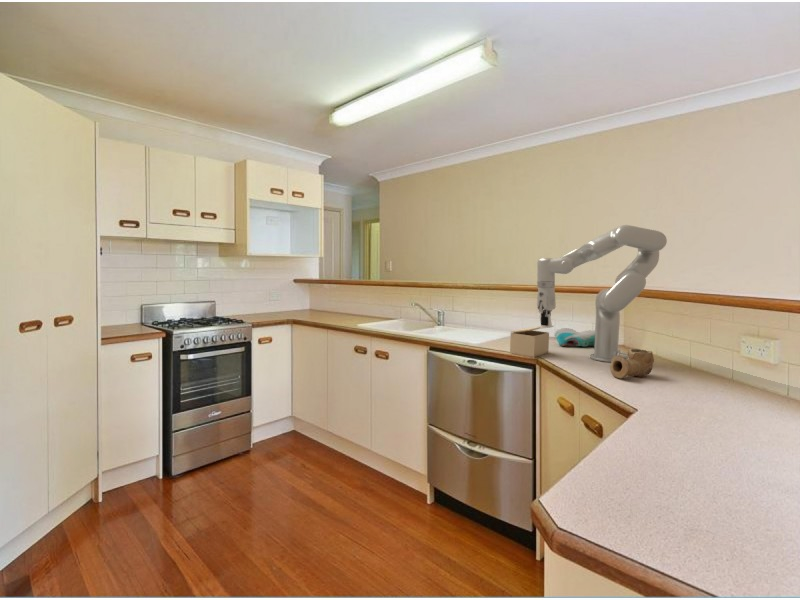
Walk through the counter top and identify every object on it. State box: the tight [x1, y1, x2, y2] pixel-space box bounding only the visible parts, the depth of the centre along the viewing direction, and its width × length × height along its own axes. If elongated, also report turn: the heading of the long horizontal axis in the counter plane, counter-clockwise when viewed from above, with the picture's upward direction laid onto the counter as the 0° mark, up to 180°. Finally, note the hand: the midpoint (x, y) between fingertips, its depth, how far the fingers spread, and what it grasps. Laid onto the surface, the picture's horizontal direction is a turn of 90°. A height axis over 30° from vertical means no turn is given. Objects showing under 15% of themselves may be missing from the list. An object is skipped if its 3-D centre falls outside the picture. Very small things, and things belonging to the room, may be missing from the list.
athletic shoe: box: [554, 327, 595, 348], centre depth 211 cm, size 26×9×12 cm
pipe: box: [609, 348, 655, 379], centre depth 155 cm, size 9×16×10 cm, turn 111°
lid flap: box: [510, 314, 554, 334], centre depth 193 cm, size 17×15×6 cm
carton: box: [509, 330, 550, 358], centre depth 195 cm, size 12×15×10 cm
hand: (545, 324), depth 189 cm, fingers closed on lid flap
